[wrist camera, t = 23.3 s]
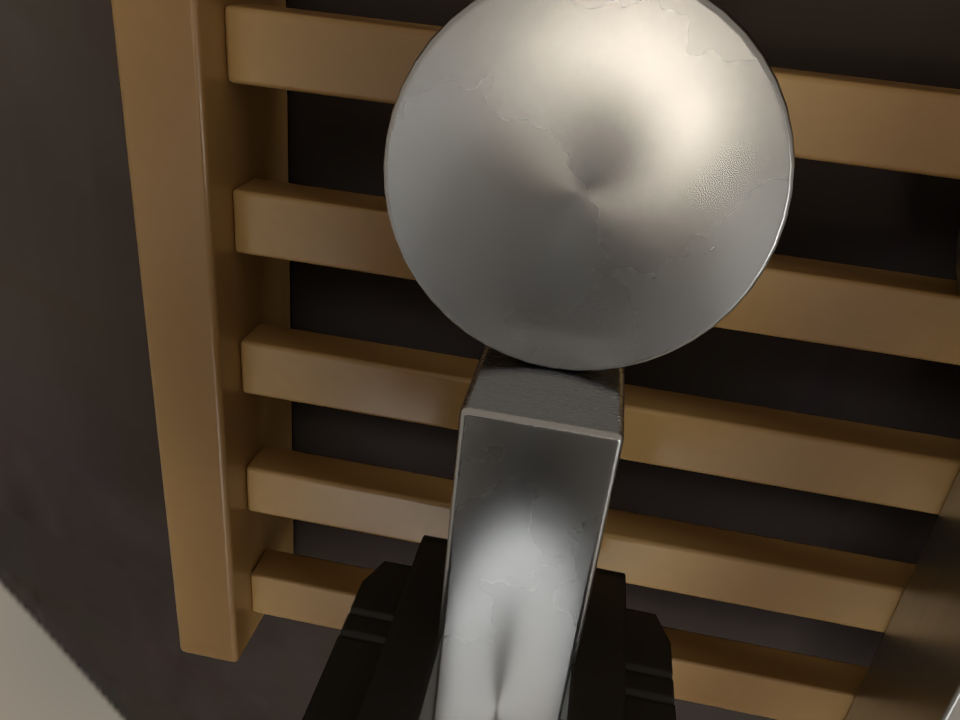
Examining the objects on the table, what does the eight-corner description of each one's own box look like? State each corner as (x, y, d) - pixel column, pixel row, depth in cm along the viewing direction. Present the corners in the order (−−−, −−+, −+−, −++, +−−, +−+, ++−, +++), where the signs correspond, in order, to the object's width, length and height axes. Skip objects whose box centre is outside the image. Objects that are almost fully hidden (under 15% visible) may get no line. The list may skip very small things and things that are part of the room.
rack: (245, 551, 18) (178, 652, 15) (214, -59, 12) (100, -68, 10) (1161, 733, 16) (1268, 886, 13) (1633, 102, 10) (1988, 147, 8)
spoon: (414, -59, 8) (352, -67, 7) (830, -13, 8) (894, -8, 6) (373, 748, 15) (335, 867, 13) (607, 800, 14) (604, 932, 12)
